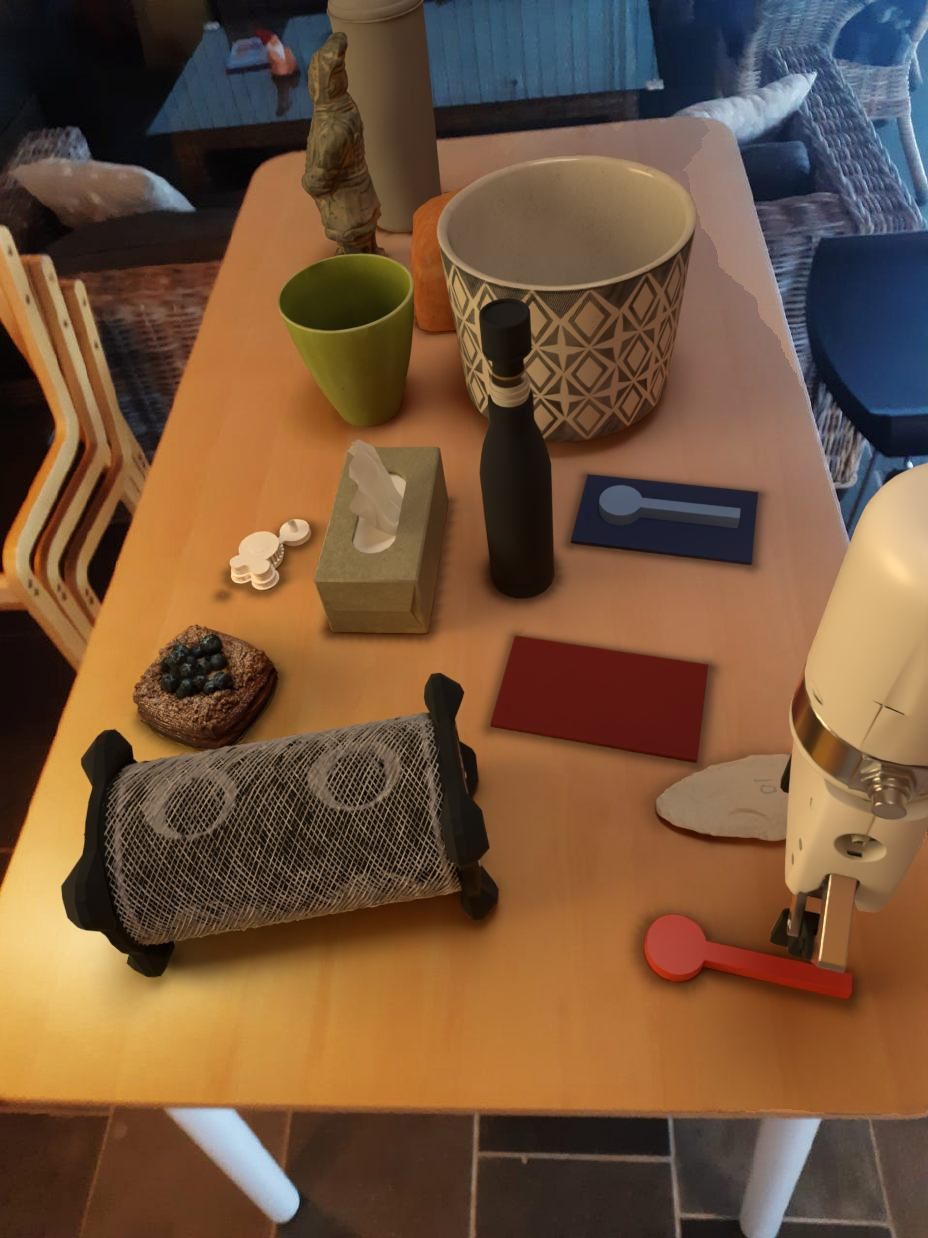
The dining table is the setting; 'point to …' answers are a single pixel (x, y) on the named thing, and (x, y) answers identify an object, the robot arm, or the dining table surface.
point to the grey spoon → (661, 509)
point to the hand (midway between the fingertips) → (802, 864)
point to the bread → (430, 267)
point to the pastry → (206, 688)
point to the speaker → (278, 831)
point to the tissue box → (383, 540)
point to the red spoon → (730, 959)
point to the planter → (574, 283)
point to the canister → (392, 101)
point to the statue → (339, 156)
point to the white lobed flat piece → (266, 554)
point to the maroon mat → (603, 697)
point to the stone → (731, 799)
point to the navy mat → (669, 522)
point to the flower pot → (353, 331)
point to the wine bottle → (514, 459)
